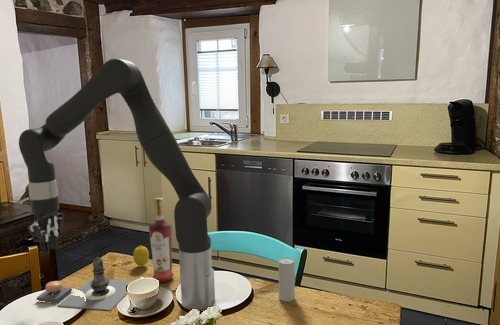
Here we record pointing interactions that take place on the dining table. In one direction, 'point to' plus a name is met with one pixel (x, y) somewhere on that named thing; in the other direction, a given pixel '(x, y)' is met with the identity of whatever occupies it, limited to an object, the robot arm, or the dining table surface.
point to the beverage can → (286, 279)
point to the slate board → (101, 302)
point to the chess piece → (99, 279)
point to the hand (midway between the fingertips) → (49, 250)
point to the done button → (53, 286)
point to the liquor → (161, 244)
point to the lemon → (141, 255)
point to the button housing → (54, 298)
